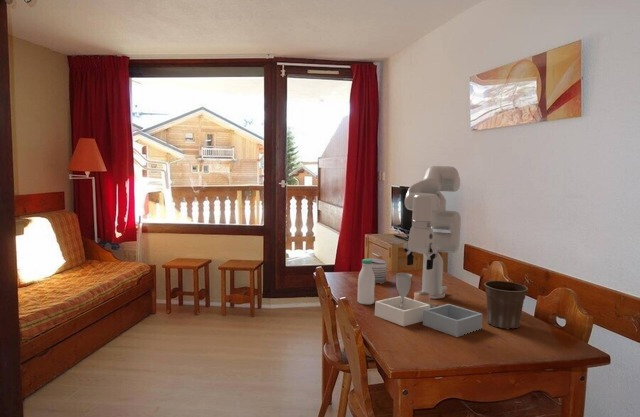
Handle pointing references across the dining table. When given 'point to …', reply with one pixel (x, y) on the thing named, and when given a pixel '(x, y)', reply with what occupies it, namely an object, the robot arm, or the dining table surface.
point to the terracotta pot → (422, 297)
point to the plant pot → (504, 303)
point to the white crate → (393, 312)
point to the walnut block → (432, 304)
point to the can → (379, 270)
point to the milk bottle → (366, 283)
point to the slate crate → (452, 319)
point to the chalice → (403, 285)
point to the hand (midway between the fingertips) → (419, 267)
